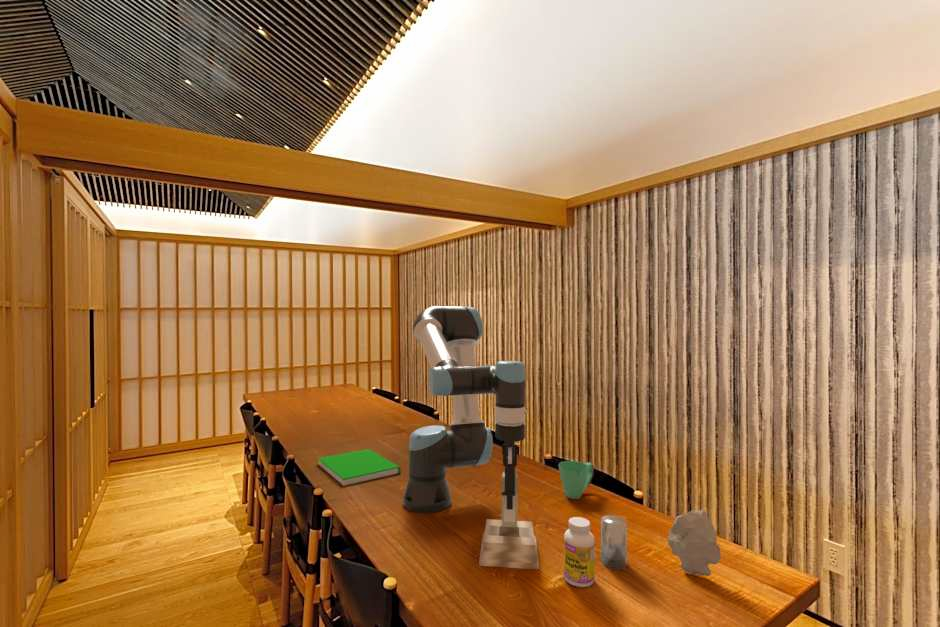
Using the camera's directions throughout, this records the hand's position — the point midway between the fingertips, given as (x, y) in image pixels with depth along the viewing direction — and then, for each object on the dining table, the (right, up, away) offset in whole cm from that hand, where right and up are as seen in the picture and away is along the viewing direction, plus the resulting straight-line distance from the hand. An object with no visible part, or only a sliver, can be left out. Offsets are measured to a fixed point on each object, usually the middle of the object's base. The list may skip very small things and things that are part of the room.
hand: (509, 516), depth 106 cm
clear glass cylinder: (+25, -9, -5) cm, 26 cm away
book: (-54, -10, +59) cm, 81 cm away
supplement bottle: (+14, -9, -11) cm, 20 cm away
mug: (+27, -10, +36) cm, 46 cm away
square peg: (0, -2, 0) cm, 2 cm away
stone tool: (+41, -9, -9) cm, 43 cm away
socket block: (0, -9, 0) cm, 9 cm away
